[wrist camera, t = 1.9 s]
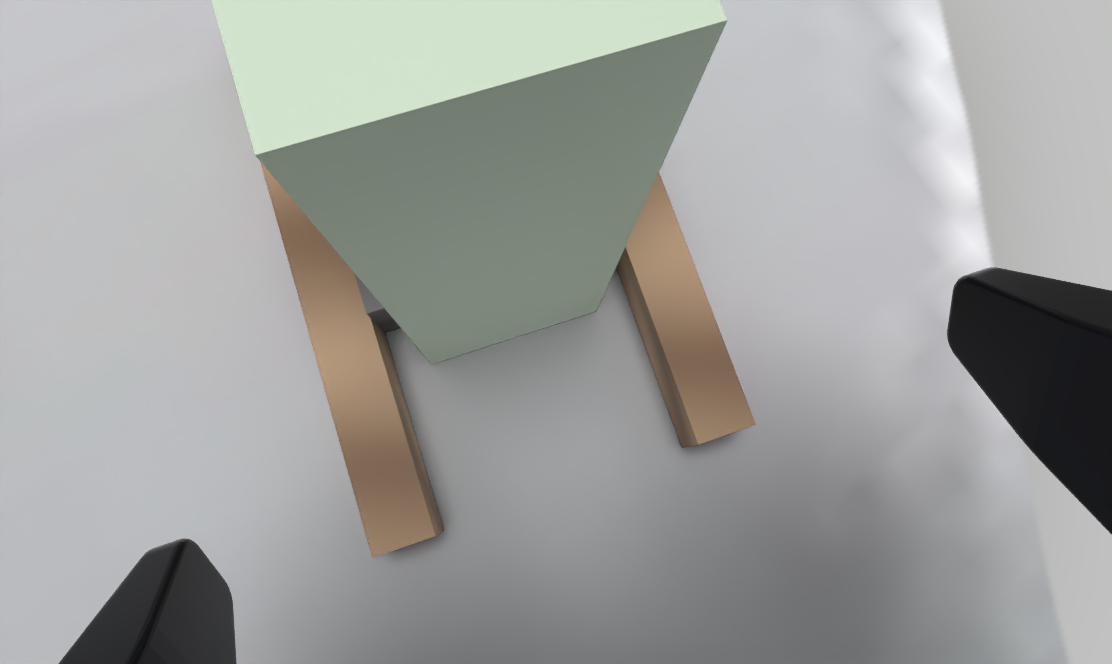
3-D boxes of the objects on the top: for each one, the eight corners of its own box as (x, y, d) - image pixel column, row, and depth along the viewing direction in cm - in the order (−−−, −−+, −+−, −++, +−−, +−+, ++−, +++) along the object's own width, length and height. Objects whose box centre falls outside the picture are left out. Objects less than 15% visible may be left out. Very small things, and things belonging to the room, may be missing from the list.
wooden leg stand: (733, 429, 21) (761, 423, 18) (387, 549, 20) (368, 560, 17) (554, -46, 24) (558, -106, 21) (240, 39, 22) (206, -15, 20)
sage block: (596, 311, 21) (728, 19, 8) (431, 364, 21) (254, 155, 7) (542, 158, 22) (572, -352, 8) (382, 206, 22) (139, -254, 8)
